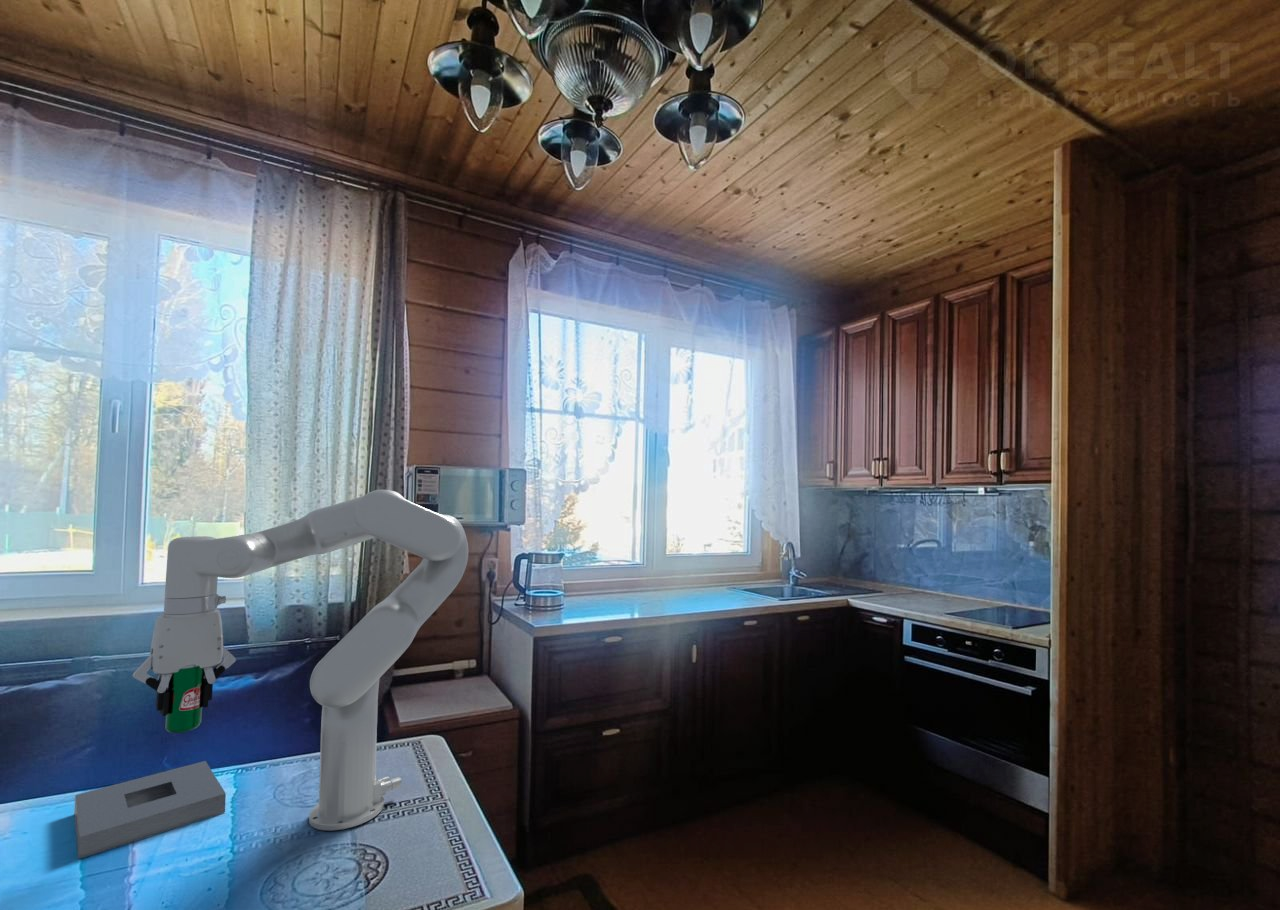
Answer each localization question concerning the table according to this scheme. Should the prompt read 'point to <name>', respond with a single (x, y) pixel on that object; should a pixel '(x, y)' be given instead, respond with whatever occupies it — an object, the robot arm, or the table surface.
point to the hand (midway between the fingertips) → (184, 708)
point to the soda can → (185, 699)
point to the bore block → (145, 807)
